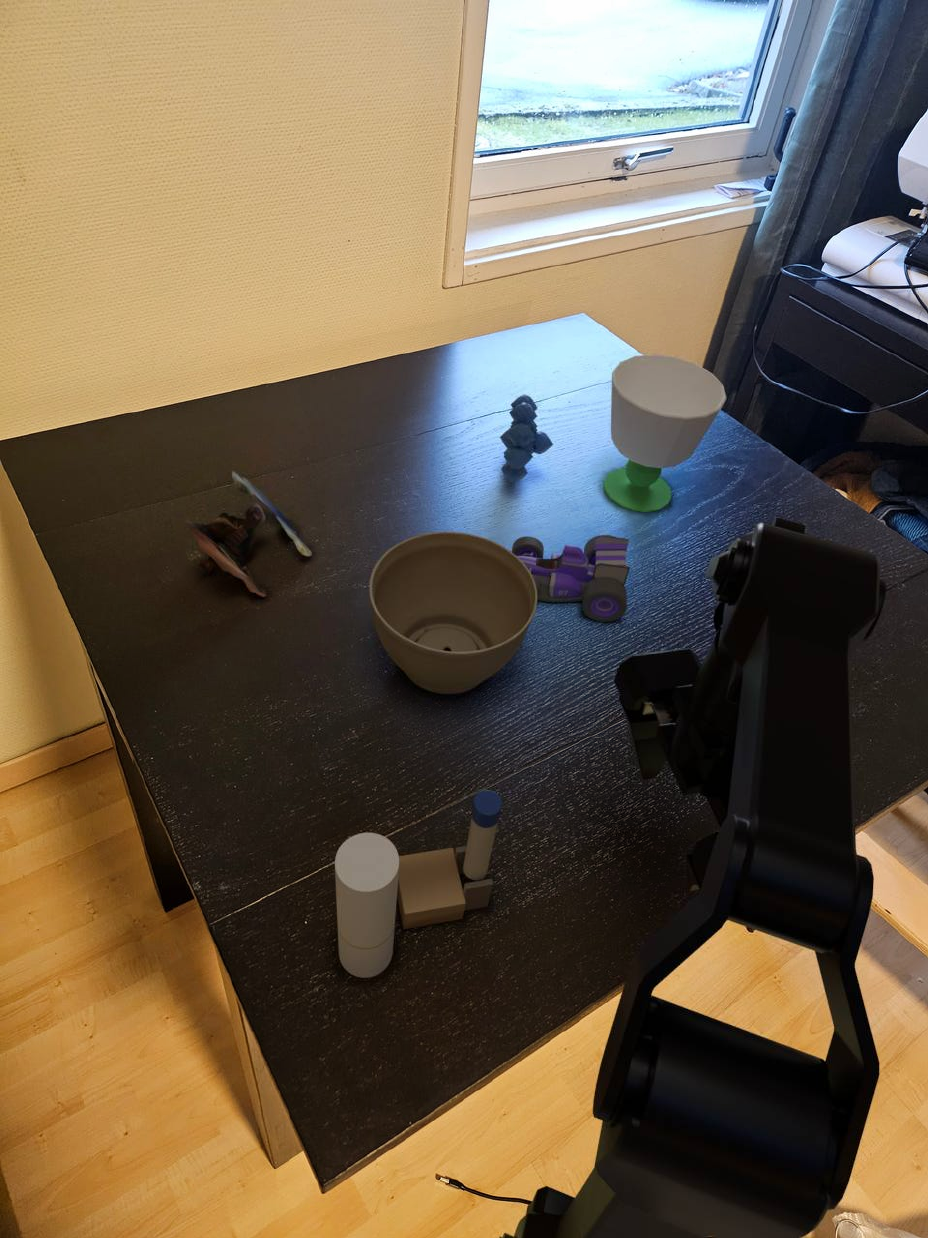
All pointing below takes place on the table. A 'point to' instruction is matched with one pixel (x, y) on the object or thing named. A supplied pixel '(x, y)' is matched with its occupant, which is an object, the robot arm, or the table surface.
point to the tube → (366, 903)
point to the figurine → (238, 537)
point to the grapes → (522, 439)
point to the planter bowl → (451, 608)
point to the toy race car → (580, 574)
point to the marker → (481, 834)
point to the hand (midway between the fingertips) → (670, 830)
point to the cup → (657, 424)
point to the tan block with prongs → (437, 888)
